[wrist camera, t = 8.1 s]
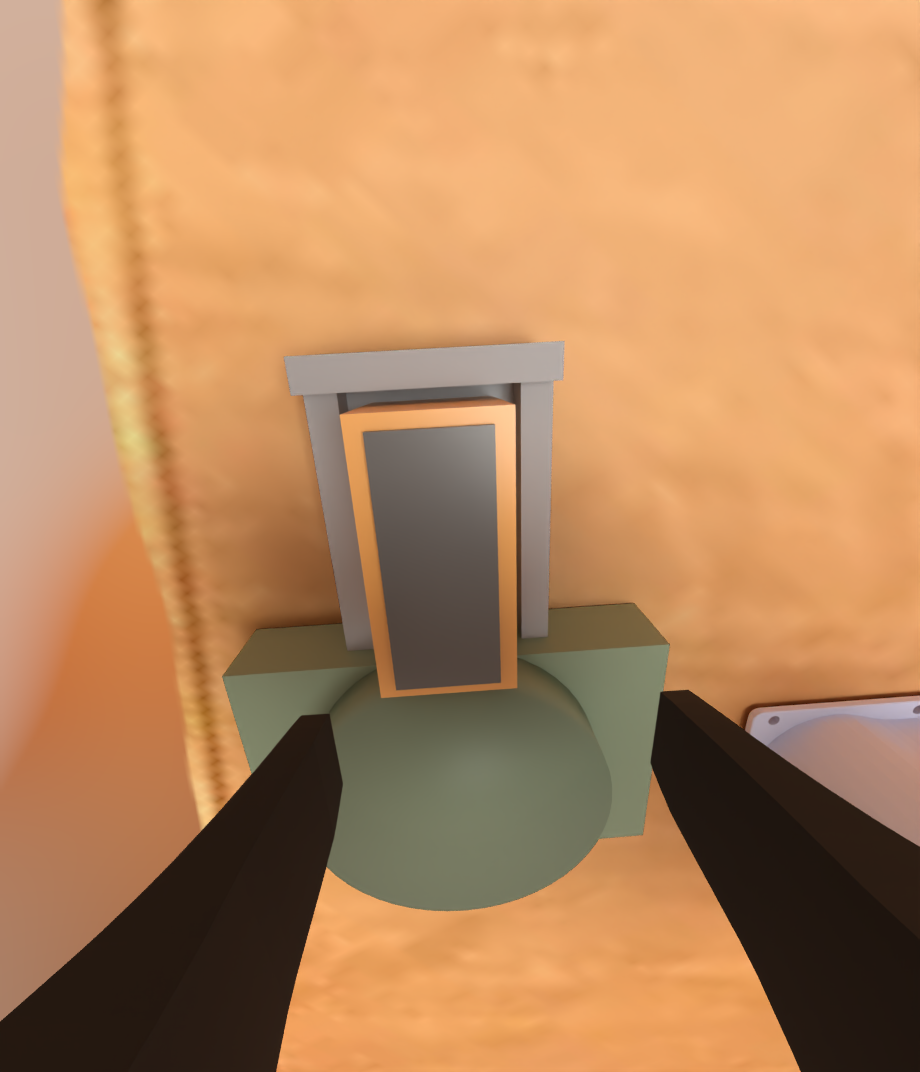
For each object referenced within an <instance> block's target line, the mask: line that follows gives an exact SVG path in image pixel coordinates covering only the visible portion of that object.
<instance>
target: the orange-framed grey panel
mask: <svg viewBox="0 0 920 1072" xmlns="http://www.w3.org/2000/svg"><path fill="white" fill-rule="evenodd" d="M340 421H341V428H342V434H343V441H344V448H345V455H346V462H347V469H348V475H349V482H350V489H351V496H352V503H353V510H354V516H355V523H356V530H357V537H358V544H359V551H360V557H361V564H362V571H363V578H364V585H365V591H366V598H367V605H368V612H369V619H370V626H371V632H372V639H373V646H374V653H375V660H376V667H377V673H378V680H379V687H380V694H381V698H389V697H402V696H416V695H430V694H443V693H457V692H471V691H484V690H498V689H512V688H517V567H516V412H515V404H513V403H510V402H507V401H504V400H502V399H499V398H496V397H493V396H477V397H459V398H442V399H424V400H407V401H389V402H372V403H370V404H367V405H364V406H362V407H359V408H356V409H353V410H351V411H348V412H345V413H343V414H340Z"/></svg>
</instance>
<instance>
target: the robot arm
mask: <svg viewBox="0 0 920 1072" xmlns="http://www.w3.org/2000/svg"><path fill="white" fill-rule="evenodd" d="M650 763H651V766H652V768H653V771H654V773H655V776H656V778H657V781H658V783H659V786H660V788H661V791H662V793H663V796H664V798H665V800H666V803H667V805H668V807H669V810H670V812H671V814H672V816H673V818H674V820H675V822H676V824H677V826H678V827H679V829H680V831H681V833H682V835H683V837H684V839H685V841H686V842H687V844H688V846H689V848H690V850H691V852H692V854H693V855H694V857H695V859H696V861H697V863H698V865H699V866H700V868H701V870H702V872H703V874H704V876H705V877H706V879H707V881H708V883H709V885H710V887H711V888H712V890H713V892H714V894H715V896H716V898H717V900H718V901H719V903H720V905H721V907H722V909H723V911H724V912H725V914H726V916H727V918H728V920H729V922H730V923H731V925H732V927H733V929H734V931H735V933H736V934H737V936H738V938H739V940H740V942H741V944H742V946H743V948H744V950H745V952H746V954H747V956H748V958H749V960H750V962H751V964H752V965H753V967H754V969H755V971H756V973H757V975H758V978H759V980H760V982H761V984H762V986H763V989H764V991H765V993H766V995H767V997H768V1000H769V1002H770V1004H771V1006H772V1008H773V1011H774V1013H775V1015H776V1017H777V1019H778V1022H779V1024H780V1026H781V1028H782V1030H783V1033H784V1035H785V1037H786V1039H787V1041H788V1044H789V1046H790V1048H791V1050H792V1052H793V1055H794V1057H795V1059H796V1062H797V1064H798V1066H799V1069H800V1071H801V1072H920V696H907V697H893V698H880V699H867V700H854V701H841V702H827V703H814V704H801V705H788V706H775V707H761V708H756V709H754V710H752V711H751V712H750V714H749V716H748V720H747V724H746V728H745V730H744V729H742V728H741V727H739V726H738V725H737V724H735V723H734V722H733V721H731V720H730V719H728V718H727V717H726V716H724V715H723V714H722V713H720V712H719V711H717V710H716V709H715V708H713V707H712V706H711V705H709V704H708V703H706V702H705V701H704V700H702V699H701V698H699V697H698V696H696V695H695V694H693V693H692V692H690V691H689V690H679V691H664V692H660V698H659V705H658V712H657V719H656V726H655V733H654V740H653V747H652V754H651V761H650ZM342 788H343V781H342V775H341V770H340V765H339V760H338V755H337V750H336V745H335V739H334V734H333V729H332V724H331V719H330V714H314V715H301V716H300V717H299V718H298V719H297V720H296V721H295V723H294V724H293V725H292V726H291V727H290V729H289V730H288V731H287V732H286V733H285V735H284V736H283V737H282V738H281V740H280V741H279V742H278V743H277V744H276V746H275V747H274V748H273V749H272V750H271V752H270V753H269V754H268V755H267V756H266V758H265V759H264V760H263V761H262V762H261V764H260V765H259V766H258V767H257V768H256V770H255V771H254V772H253V773H252V774H251V776H250V777H249V778H248V779H247V780H246V781H245V782H244V784H243V785H242V786H241V787H240V788H239V789H238V791H237V792H236V793H235V794H234V795H233V796H232V797H231V799H230V800H229V801H228V802H227V803H226V804H225V806H224V807H223V808H222V809H221V810H220V811H219V812H218V813H217V815H216V816H215V817H214V818H213V819H212V820H211V821H210V822H209V823H208V824H207V825H206V827H205V828H204V829H203V830H202V831H201V832H200V833H199V834H198V835H197V836H196V837H195V838H194V839H193V841H192V842H191V843H190V844H189V845H188V846H187V847H186V848H185V849H184V850H183V851H182V852H181V853H180V854H179V856H178V857H177V858H176V859H175V860H174V861H173V862H172V863H171V864H170V865H169V866H168V867H167V868H166V869H165V870H164V871H163V872H162V873H161V874H160V875H159V876H158V877H157V878H156V879H155V880H154V881H153V882H152V883H151V884H150V885H149V886H148V887H147V888H146V889H145V890H144V891H143V892H142V893H141V894H140V895H139V896H138V897H137V898H136V899H135V900H134V901H133V902H132V903H131V904H130V905H129V906H128V907H127V908H126V909H125V910H124V911H123V912H122V913H121V914H119V915H118V916H117V918H115V919H114V920H113V921H112V922H111V923H110V924H109V925H108V926H107V927H106V928H105V929H104V930H103V931H102V932H101V933H99V934H98V935H97V936H96V937H95V938H94V939H93V940H92V941H91V942H90V943H89V944H87V945H86V946H85V947H84V948H83V949H82V950H81V951H80V952H79V953H77V954H76V955H75V956H74V957H73V958H72V959H71V960H70V961H69V962H67V964H65V965H64V966H63V967H62V968H61V969H60V970H59V971H57V972H56V973H55V974H54V975H53V976H51V977H50V978H49V979H48V980H47V981H46V982H45V983H44V984H42V986H40V987H39V988H38V989H37V990H36V991H35V992H34V993H32V994H31V995H30V996H29V997H28V998H27V999H25V1001H23V1002H22V1003H21V1004H20V1005H19V1006H18V1007H16V1008H15V1009H14V1010H13V1011H12V1012H11V1013H10V1014H8V1015H7V1016H6V1017H5V1018H4V1019H3V1020H1V1021H0V1072H276V1069H277V1064H278V1059H279V1054H280V1049H281V1044H282V1039H283V1034H284V1029H285V1024H286V1019H287V1014H288V1009H289V1005H290V1001H291V997H292V993H293V989H294V985H295V980H296V976H297V973H298V969H299V965H300V962H301V958H302V954H303V951H304V947H305V943H306V940H307V936H308V932H309V929H310V925H311V921H312V918H313V914H314V911H315V907H316V903H317V900H318V896H319V892H320V889H321V885H322V881H323V878H324V874H325V870H326V866H327V863H328V859H329V855H330V852H331V848H332V844H333V840H334V836H335V830H336V824H337V819H338V813H339V807H340V800H341V794H342Z"/></svg>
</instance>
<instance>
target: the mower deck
mask: <svg viewBox="0 0 920 1072" xmlns="http://www.w3.org/2000/svg"><path fill="white" fill-rule="evenodd" d="M284 361H285V367H286V372H287V378H288V383H289V388H290V394H291V396H295V395H303V398H304V404H305V410H306V415H307V421H308V427H309V433H310V438H311V444H312V450H313V456H314V462H315V467H316V473H317V479H318V485H319V490H320V496H321V502H322V508H323V513H324V519H325V525H326V531H327V536H328V542H329V548H330V554H331V559H332V565H333V571H334V577H335V582H336V588H337V594H338V600H339V605H340V611H341V617H342V624H327V625H313V626H298V627H284V628H270V629H256V631H255V632H254V633H253V635H252V636H251V638H250V639H249V640H248V642H247V643H246V644H245V646H244V647H243V649H242V650H241V651H240V653H239V654H238V655H237V657H236V658H235V660H234V661H233V662H232V664H231V665H230V666H229V668H228V669H227V671H226V672H225V673H224V675H223V676H222V678H223V681H224V684H225V688H226V691H227V694H228V698H229V701H230V704H231V707H232V711H233V714H234V717H235V721H236V724H237V727H238V730H239V734H240V737H241V740H242V744H243V747H244V750H245V753H246V757H247V760H248V763H249V767H250V770H251V773H253V772H254V771H255V770H256V768H257V767H258V766H259V765H260V764H261V762H262V761H263V760H264V759H265V758H266V756H267V755H268V754H269V753H270V752H271V750H272V749H273V748H274V747H275V746H276V744H277V743H278V742H279V741H280V740H281V738H282V737H283V736H284V735H285V733H286V732H287V731H288V730H289V729H290V727H291V726H292V725H293V724H294V723H295V721H296V720H297V719H298V718H299V717H300V716H301V715H314V714H330V719H331V724H332V729H333V734H334V739H335V745H336V750H337V755H338V760H339V765H340V770H341V775H342V781H343V788H342V794H341V800H340V807H339V813H338V819H337V824H336V830H335V836H334V840H333V844H332V848H331V852H330V855H329V859H328V863H327V866H326V867H327V868H329V869H330V870H331V871H332V872H333V873H334V874H335V875H336V876H337V877H339V878H340V879H342V880H343V881H344V882H346V883H347V884H348V885H350V886H352V887H354V888H356V889H357V890H359V891H361V892H363V893H365V894H367V895H370V896H372V897H374V898H377V899H379V900H382V901H386V902H389V903H392V904H395V905H400V906H404V907H409V908H415V909H423V910H433V911H461V910H472V909H480V908H486V907H491V906H496V905H500V904H504V903H507V902H511V901H514V900H517V899H520V898H523V897H525V896H528V895H530V894H532V893H535V892H537V891H539V890H541V889H543V888H545V887H547V886H549V885H550V884H552V883H553V882H555V881H557V880H558V879H560V878H561V877H563V876H564V875H565V874H567V873H568V872H569V871H570V870H572V869H573V868H574V867H575V866H577V865H578V864H579V863H580V862H581V861H582V860H583V858H584V857H585V856H586V855H587V854H588V853H589V852H590V851H591V849H592V848H593V847H594V845H595V844H596V843H597V841H598V839H601V838H613V837H625V836H637V835H643V830H644V823H645V816H646V809H647V801H648V794H649V787H650V780H651V773H652V766H651V763H650V761H651V754H652V747H653V740H654V733H655V726H656V719H657V712H658V705H659V698H660V692H663V688H664V681H665V674H666V667H667V660H668V653H669V646H670V644H669V643H668V642H667V641H666V639H665V638H664V637H663V636H662V635H661V634H660V632H659V631H658V630H657V629H656V628H655V627H654V626H653V624H652V623H651V622H650V621H649V620H648V619H647V617H646V616H645V615H644V614H643V613H642V612H641V610H640V609H639V608H638V607H637V606H636V605H635V603H629V604H615V605H600V606H586V607H571V608H557V609H548V600H549V555H550V511H551V466H552V421H553V381H556V380H563V370H564V341H557V342H539V343H521V344H503V345H485V346H466V347H448V348H430V349H412V350H394V351H376V352H358V353H340V354H322V355H304V356H286V357H284ZM477 396H493V397H496V398H499V399H502V400H504V401H507V402H510V403H513V404H515V412H516V567H517V688H512V689H498V690H484V691H471V692H457V693H443V694H430V695H416V696H402V697H389V698H381V694H380V687H379V680H378V673H377V667H376V660H375V653H374V646H373V639H372V632H371V626H370V619H369V612H368V605H367V598H366V591H365V585H364V578H363V571H362V564H361V557H360V551H359V544H358V537H357V530H356V523H355V516H354V510H353V503H352V496H351V489H350V482H349V475H348V469H347V462H346V455H345V448H344V441H343V434H342V428H341V421H340V414H343V413H345V412H348V411H351V410H353V409H356V408H359V407H362V406H364V405H367V404H370V403H372V402H389V401H407V400H424V399H442V398H459V397H477Z"/></svg>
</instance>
